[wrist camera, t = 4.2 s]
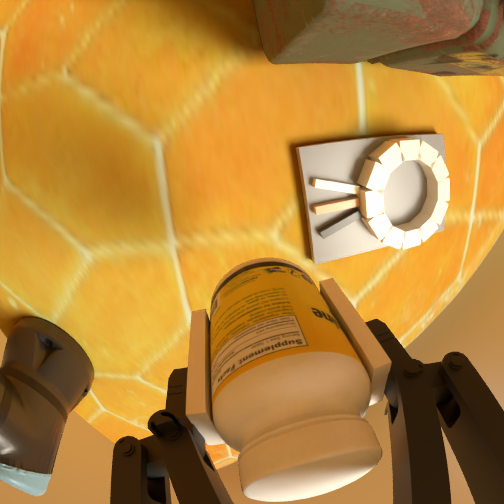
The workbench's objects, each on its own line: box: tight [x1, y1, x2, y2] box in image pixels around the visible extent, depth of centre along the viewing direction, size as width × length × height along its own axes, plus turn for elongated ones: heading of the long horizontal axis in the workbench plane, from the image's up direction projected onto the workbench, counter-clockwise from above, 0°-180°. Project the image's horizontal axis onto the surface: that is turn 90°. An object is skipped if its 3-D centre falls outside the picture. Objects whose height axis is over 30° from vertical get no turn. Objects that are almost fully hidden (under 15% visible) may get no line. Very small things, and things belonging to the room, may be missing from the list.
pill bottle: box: [210, 258, 382, 502], centre depth 11 cm, size 6×6×11 cm
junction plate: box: [295, 133, 450, 265], centre depth 26 cm, size 18×12×3 cm, turn 102°
